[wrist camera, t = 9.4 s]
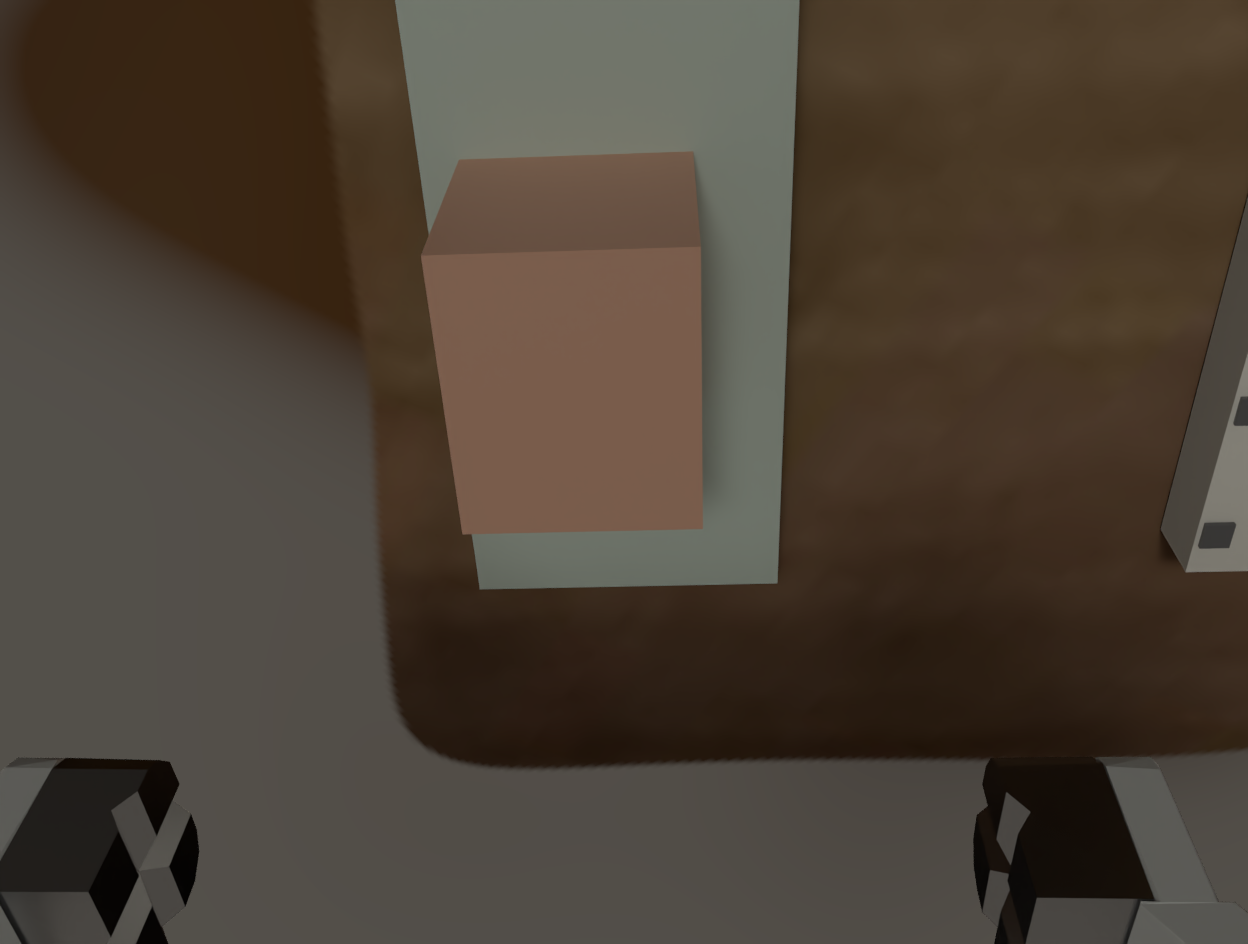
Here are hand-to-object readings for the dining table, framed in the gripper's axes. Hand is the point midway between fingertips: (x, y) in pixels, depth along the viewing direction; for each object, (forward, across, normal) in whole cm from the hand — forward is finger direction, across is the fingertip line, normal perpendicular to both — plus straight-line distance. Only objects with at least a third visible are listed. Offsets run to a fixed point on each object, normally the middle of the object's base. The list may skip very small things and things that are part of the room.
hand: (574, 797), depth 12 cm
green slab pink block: (+13, 0, 0) cm, 13 cm away
